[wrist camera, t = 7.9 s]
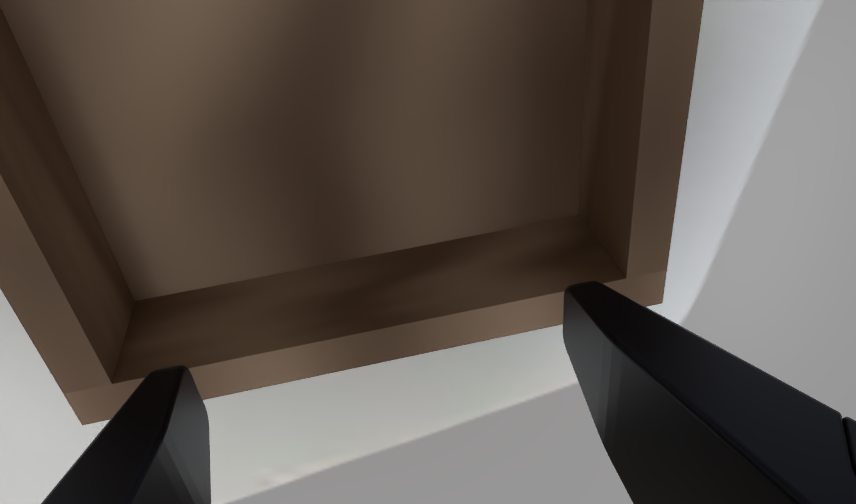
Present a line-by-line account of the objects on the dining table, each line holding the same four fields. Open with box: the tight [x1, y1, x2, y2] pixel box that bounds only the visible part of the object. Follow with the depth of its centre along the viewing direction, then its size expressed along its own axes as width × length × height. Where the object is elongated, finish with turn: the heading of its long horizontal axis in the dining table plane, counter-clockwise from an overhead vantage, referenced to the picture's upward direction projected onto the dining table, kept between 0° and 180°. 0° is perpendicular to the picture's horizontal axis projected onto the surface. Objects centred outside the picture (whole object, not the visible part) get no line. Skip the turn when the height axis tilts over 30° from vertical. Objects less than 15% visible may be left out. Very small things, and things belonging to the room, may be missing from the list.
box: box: [0, 0, 704, 425], centre depth 16 cm, size 16×14×4 cm
